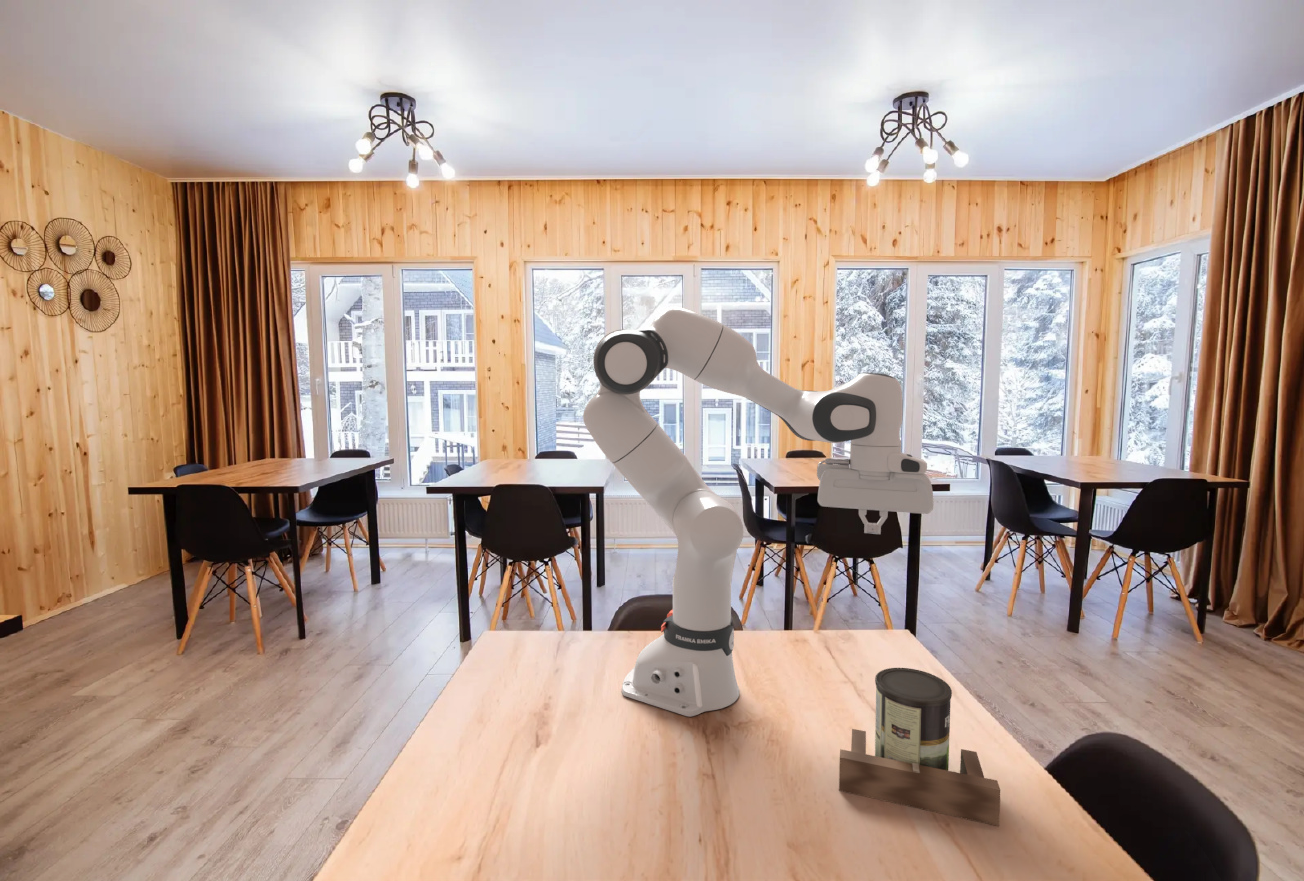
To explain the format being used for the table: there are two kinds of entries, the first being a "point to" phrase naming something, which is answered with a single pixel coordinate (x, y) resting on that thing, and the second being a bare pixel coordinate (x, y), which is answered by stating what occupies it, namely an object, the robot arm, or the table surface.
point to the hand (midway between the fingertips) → (872, 533)
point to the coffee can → (912, 717)
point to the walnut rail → (921, 783)
